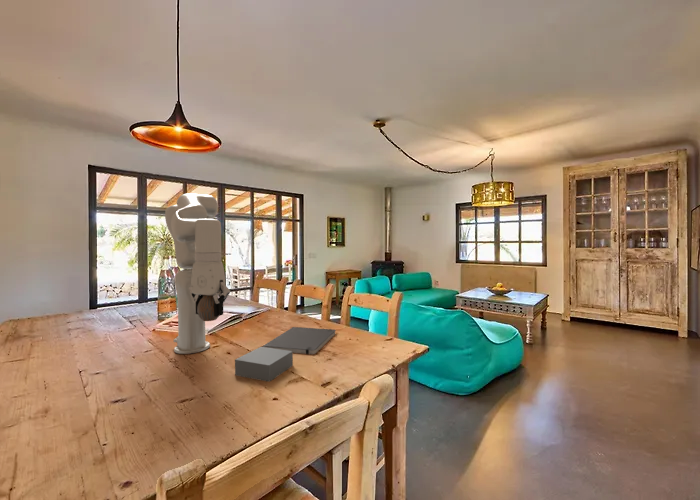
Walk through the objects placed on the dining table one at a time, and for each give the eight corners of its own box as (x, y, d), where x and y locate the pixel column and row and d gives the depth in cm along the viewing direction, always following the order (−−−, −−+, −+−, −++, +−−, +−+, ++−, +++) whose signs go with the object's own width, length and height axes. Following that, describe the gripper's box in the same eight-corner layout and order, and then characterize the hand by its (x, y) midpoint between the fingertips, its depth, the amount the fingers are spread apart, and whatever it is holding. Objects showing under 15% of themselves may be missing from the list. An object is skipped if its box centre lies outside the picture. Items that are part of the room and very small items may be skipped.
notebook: (293, 331, 150) (262, 351, 123) (293, 326, 150) (262, 345, 122) (336, 334, 144) (314, 356, 117) (336, 329, 144) (314, 349, 117)
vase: (212, 323, 96) (211, 294, 95) (192, 322, 97) (191, 293, 97) (225, 317, 102) (225, 290, 102) (207, 316, 104) (206, 290, 103)
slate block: (235, 375, 99) (234, 359, 99) (261, 360, 112) (261, 346, 111) (269, 381, 95) (269, 365, 94) (292, 365, 107) (292, 351, 107)
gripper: (178, 258, 99) (179, 314, 99) (220, 259, 92) (221, 319, 93) (197, 257, 106) (198, 309, 106) (238, 258, 99) (239, 314, 100)
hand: (209, 314), depth 100 cm, fingers closed on vase, 6 cm apart
